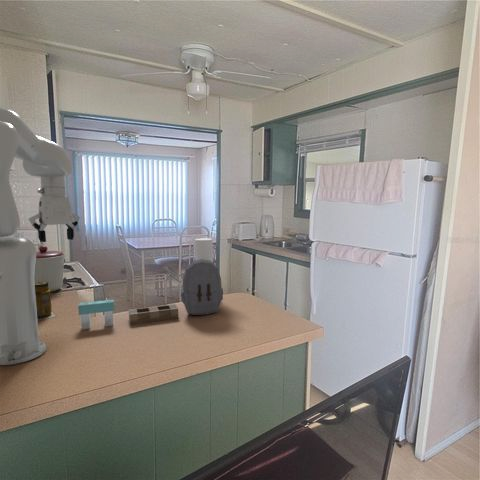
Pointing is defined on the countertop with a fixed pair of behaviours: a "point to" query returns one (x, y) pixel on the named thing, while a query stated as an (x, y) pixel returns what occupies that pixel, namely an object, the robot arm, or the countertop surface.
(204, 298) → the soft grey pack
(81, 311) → the teal and white bridge
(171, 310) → the tan slotted block
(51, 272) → the canister
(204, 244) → the cylindrical container
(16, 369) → the countertop surface
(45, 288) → the condiment
